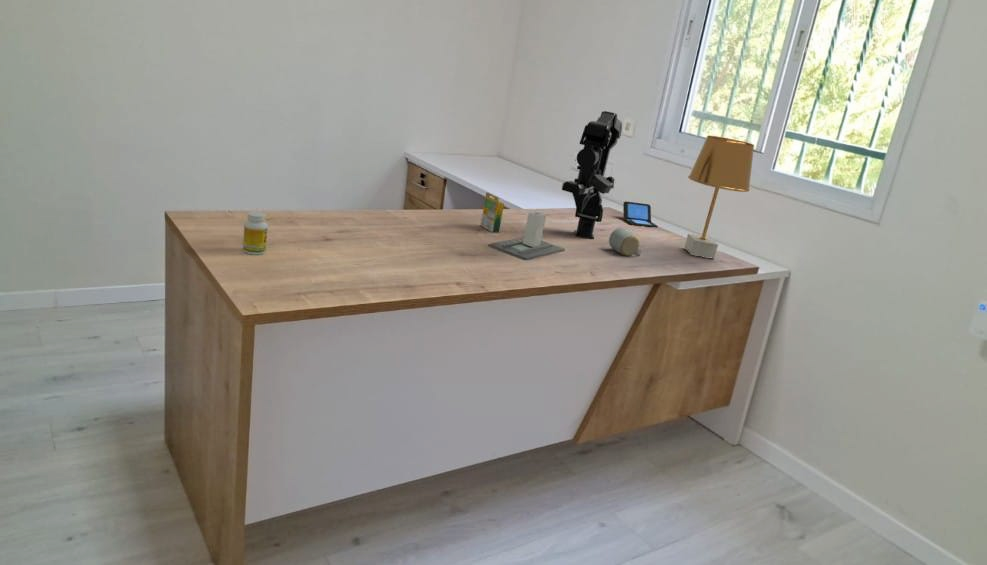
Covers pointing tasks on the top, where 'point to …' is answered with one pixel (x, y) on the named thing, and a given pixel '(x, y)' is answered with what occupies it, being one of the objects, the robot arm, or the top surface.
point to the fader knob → (534, 229)
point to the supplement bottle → (255, 234)
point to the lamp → (719, 180)
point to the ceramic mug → (624, 242)
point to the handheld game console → (637, 214)
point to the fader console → (525, 248)
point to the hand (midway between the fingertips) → (579, 213)
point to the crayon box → (492, 213)
